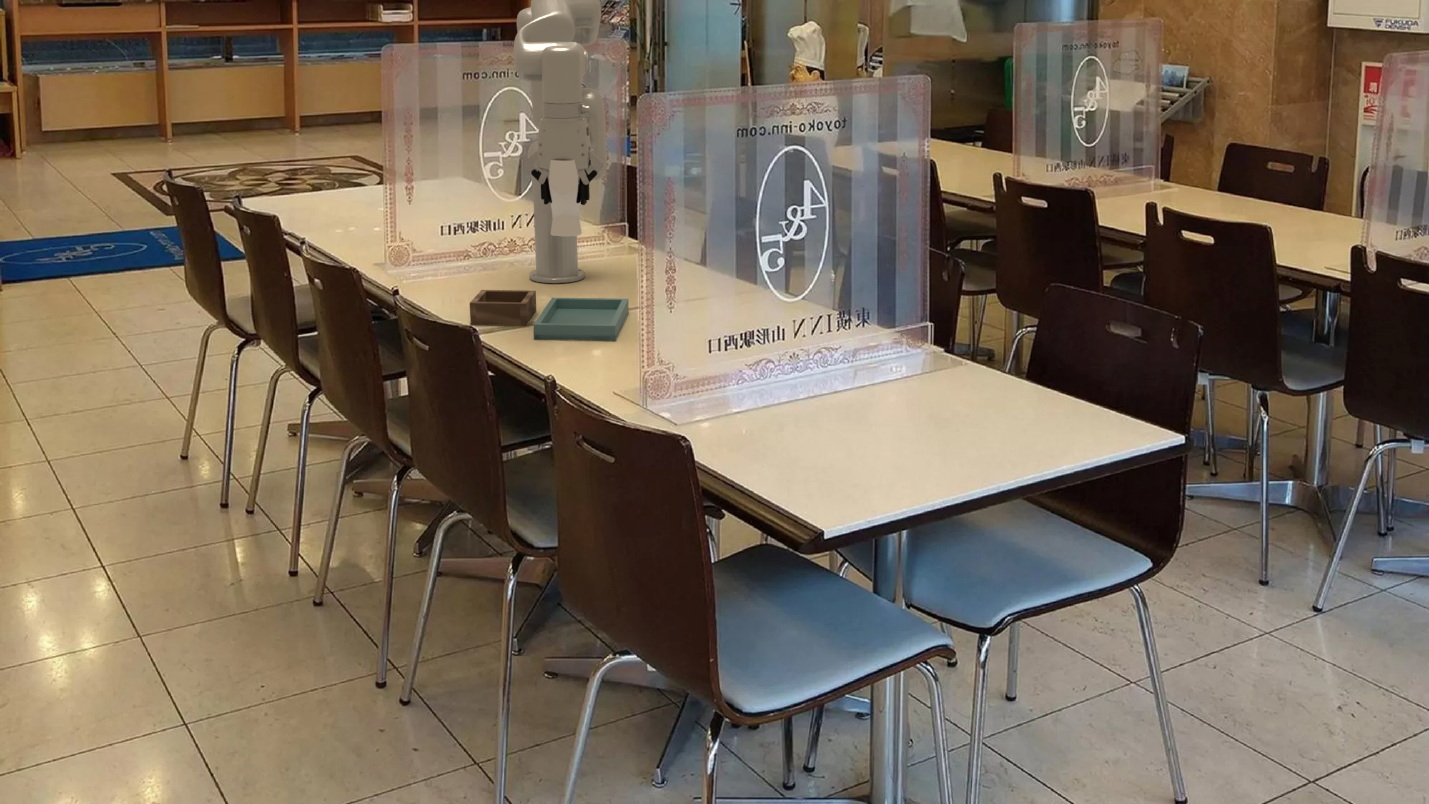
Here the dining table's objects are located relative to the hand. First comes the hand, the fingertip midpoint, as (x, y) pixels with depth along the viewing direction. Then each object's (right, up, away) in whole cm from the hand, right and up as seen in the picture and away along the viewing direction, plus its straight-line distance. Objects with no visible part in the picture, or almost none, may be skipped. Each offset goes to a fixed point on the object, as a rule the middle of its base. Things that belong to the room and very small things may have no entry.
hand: (565, 202), depth 293 cm
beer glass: (0, -6, +2) cm, 6 cm away
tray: (+3, -24, +7) cm, 25 cm away
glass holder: (-14, -22, +13) cm, 29 cm away
